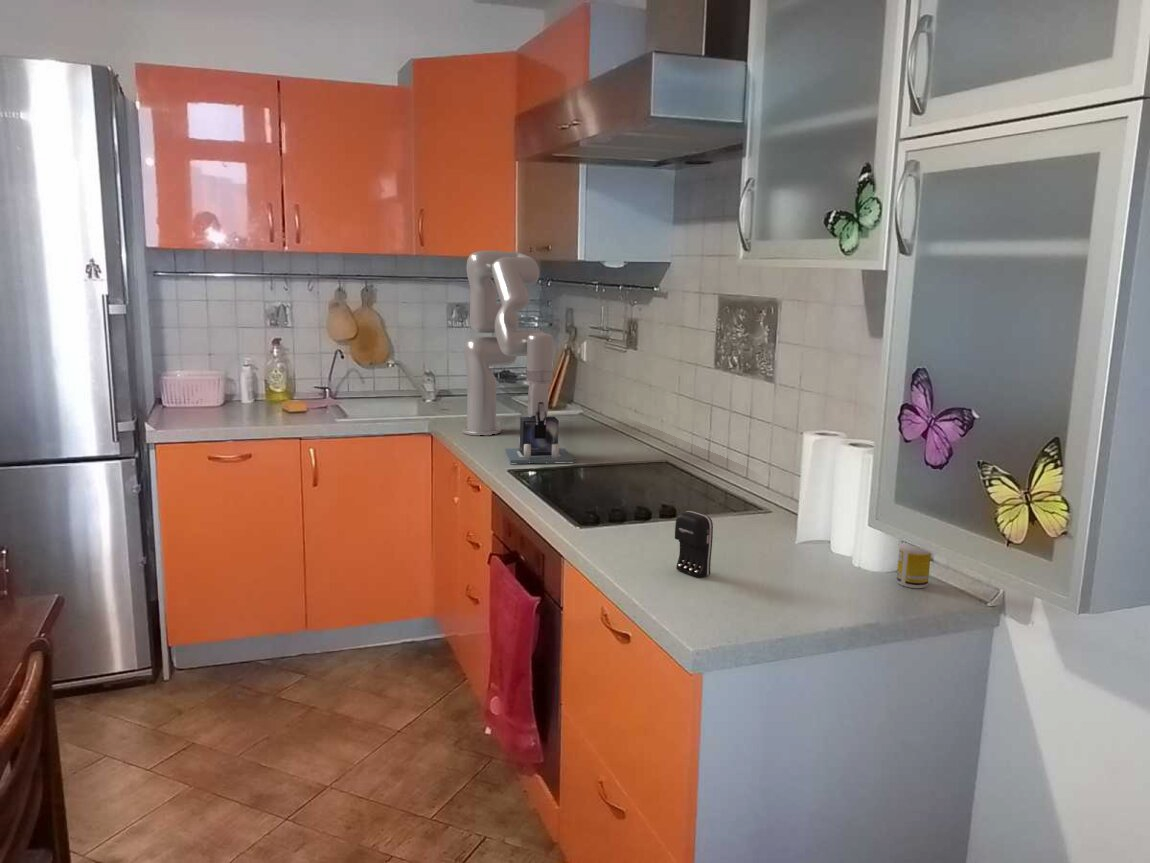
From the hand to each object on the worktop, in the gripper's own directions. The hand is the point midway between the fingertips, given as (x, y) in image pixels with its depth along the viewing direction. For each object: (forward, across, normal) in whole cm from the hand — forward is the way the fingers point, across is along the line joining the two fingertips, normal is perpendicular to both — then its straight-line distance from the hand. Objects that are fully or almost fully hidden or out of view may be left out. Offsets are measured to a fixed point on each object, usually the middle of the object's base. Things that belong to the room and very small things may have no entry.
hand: (537, 434), depth 264 cm
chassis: (+7, +1, 0) cm, 7 cm away
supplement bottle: (+4, +112, +55) cm, 125 cm away
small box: (+6, +1, 0) cm, 6 cm away
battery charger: (+5, +102, +16) cm, 103 cm away
